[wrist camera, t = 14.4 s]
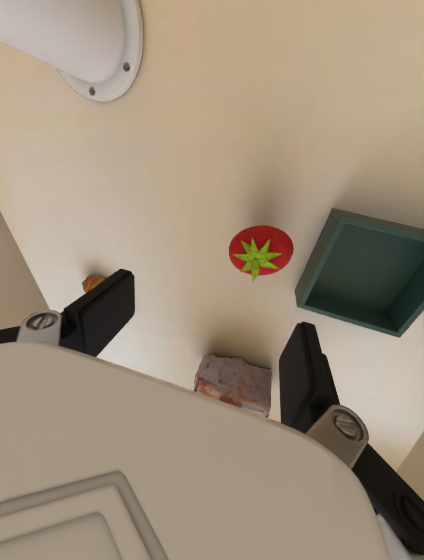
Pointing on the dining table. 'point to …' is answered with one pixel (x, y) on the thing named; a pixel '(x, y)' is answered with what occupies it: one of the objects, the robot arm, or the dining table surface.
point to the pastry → (91, 282)
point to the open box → (365, 273)
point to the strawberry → (260, 250)
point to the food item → (235, 383)
